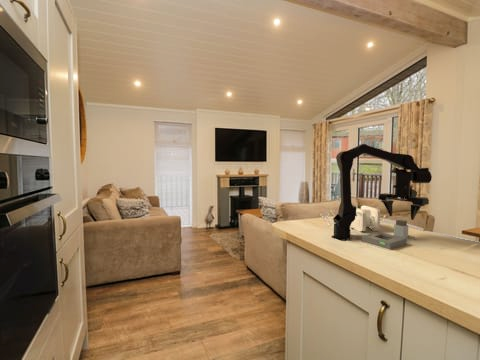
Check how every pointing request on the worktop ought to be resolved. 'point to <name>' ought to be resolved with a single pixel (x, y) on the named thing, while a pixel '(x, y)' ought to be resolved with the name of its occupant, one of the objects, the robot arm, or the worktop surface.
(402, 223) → the plug
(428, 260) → the worktop surface
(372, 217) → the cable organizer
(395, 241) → the socket plate
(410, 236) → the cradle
